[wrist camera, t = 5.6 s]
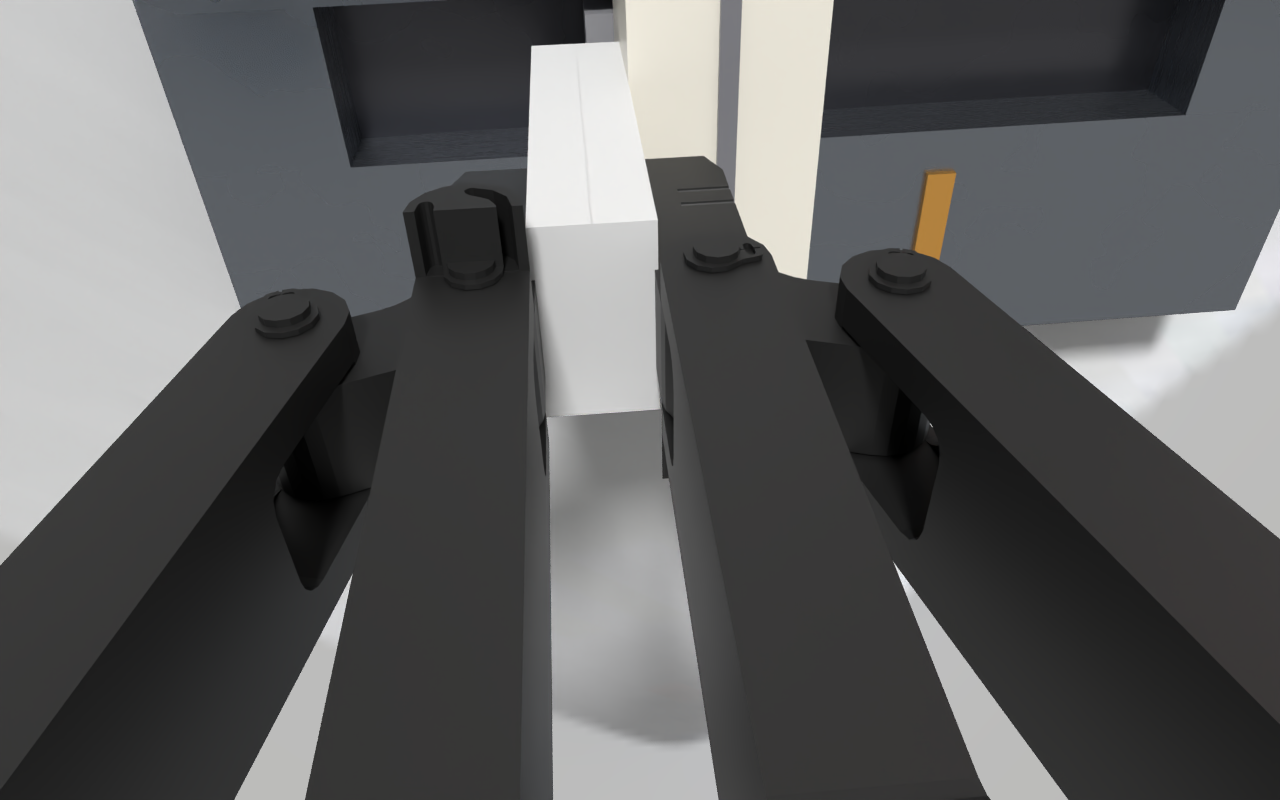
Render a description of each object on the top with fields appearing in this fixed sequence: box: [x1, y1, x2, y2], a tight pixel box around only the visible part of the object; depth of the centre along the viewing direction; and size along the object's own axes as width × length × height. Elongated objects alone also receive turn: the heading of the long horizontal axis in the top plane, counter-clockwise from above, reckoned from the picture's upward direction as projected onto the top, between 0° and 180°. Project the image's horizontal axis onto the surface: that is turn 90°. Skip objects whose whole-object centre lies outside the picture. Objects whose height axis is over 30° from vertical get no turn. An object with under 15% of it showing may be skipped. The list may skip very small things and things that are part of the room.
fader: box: [583, 0, 834, 279], centre depth 16 cm, size 4×5×5 cm
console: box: [133, 0, 1280, 326], centre depth 18 cm, size 23×13×3 cm, turn 92°
